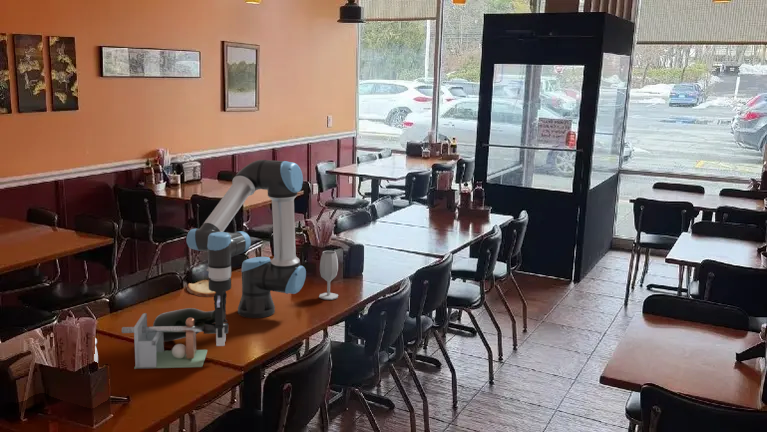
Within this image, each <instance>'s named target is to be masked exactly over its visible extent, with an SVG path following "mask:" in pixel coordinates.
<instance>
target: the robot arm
mask: <svg viewBox="0 0 767 432" xmlns="http://www.w3.org/2000/svg"><path fill="white" fill-rule="evenodd" d="M231 182H232V184H231V186H230V187H229V188H228V190H227V191H226V192H225V194H224V195H223V196H222V198H220V200H219V202H218V203H217V205H216V206H215V207H214V209H213V210H212V212H210V214H209V215H208V217H207V218H206V219H205V221H204V222H203V223H202V225H201V226H200V228H198V227H197V228H192V229H190V230H189V231H188V233H187V235H186V245H187V247H188V248H189V249H191V250H194V251H198V252H207V262H208V264H207V265H208V268H206V272H208V278H209V279H208V281H209V290H211V291H214V292H216V293H215V296H214V297H213V301H214V303H213V304H214V305H213V306H214V310H215V326H214V328H216V334H215V343H216V345H215V346H216V347H225V346H226V344H225V342H226V341H227V340H226V338H227V335H226V334H227V333H224V323H228V322H229V321H228V319H226V318H227V315H226V314H227V312H226V308H227V307H226V305H227V295H228V294H227V292H228V291H229V290H231V289H232V278H231V277H232V258H233V257H234V256H235V257H236V256H238V255H241V254H243V253H245V252H246V251H248V250H249V249H250V248H251V245H252V240H251V237H250V235H249V234H248V233H247V232H246V231H243V230H242V231H235V232H229V231H226V232H225V230H226V229H227V227H228V226H229V224H230V223H231V221H232V220H233V219H234V217H235V216H236V214H237V213H238V212H239V210H240V209H241V207H242V206H243V205H244V203H245V201H246V200H247V199H248V198H249V196H252V195H254V193H256V191H258V190H265V191H267V196H268V198H269V199H270V200H271V211H272V230H273V233H272V234H273V255H274V256H273V258H270V257H269V256H257V257H256V256H255V257H250V258H247V259H245V260H243V262H242V264H241V297H240V300H239V304H238V307H237V313H238V315H239V316H241V317H242V318H249V319H261V318H262V319H263V318H267V317H269V316H273V315H274V314H275V312H276V311H275V309H276V307H275V303H274V300H273V298H272V294H271V292H276V293H283V294H284V293H285V294H287V295H288V294H292V295H295V294H298V293H299V292H300V291H301V290H302V288H303V287H304V284H305V281H306V277H307V271H306V270H307V269H306V268H305V266H303V265H301V261H300V258H299V257H297V254H296V252H297V249H296V227H295V225H296V224H295V223H296V222H295V221H296V220H295V198H296V197H298V193H299V192H301V190H302V189H303V188H302V187H303V183H304V176H303V172H302V169H301V168H300V166H299V164H298V163H295V162H292V161H287V160H269V159H267V160H266V159H258V160H255V161H252V162H250V163H248V164H247V165H245V166H244V167H242V169H241V170H239V171H238V172H237V173H236V175H235V176H234V177H233V178H232V181H231ZM224 312H225V318H224Z"/></svg>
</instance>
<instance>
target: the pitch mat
mask: <svg viewBox="0 0 767 432" xmlns="http://www.w3.org/2000/svg"><path fill="white" fill-rule="evenodd" d="M207 354H208V349H196V353H195V356H194V358H187V359H186V355H185V356H184V357H183V358H180V359H178V358H175V357H174V356H173V354H172V349H171V350H164V352H156V356H157V366H156V367H154V368H153V369H171V368H172V369H175V368H176V369H177V368H203V365H204V362H205V360H206V357H207ZM134 365H135V364H134ZM140 368H142V369H144V368H143V367H140ZM140 368H137V367H136V365H135V366H134V370H136V369H140ZM145 369H152V368H151V367H148V368H147V367H146V368H145Z"/></svg>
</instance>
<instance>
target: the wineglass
mask: <svg viewBox="0 0 767 432" xmlns="http://www.w3.org/2000/svg"><path fill="white" fill-rule="evenodd" d="M338 261H339V260H338V255H337V252H336V251H335V250H324V251H322V253H321V257H320V261H319V262H320V263H319V272H320V277H321V278H322V279H323V280H325V281H326V285H327V288H326V289H327V290H326V292H323V293H319V296H318V298H319V299H321V300H325V301H326V300H327V301H332V300H337V299H338V298H339V294H338V293H333V292H331V282H332V281H333V280H335V278H336V277H337V275H338V271H339V262H338Z"/></svg>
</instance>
